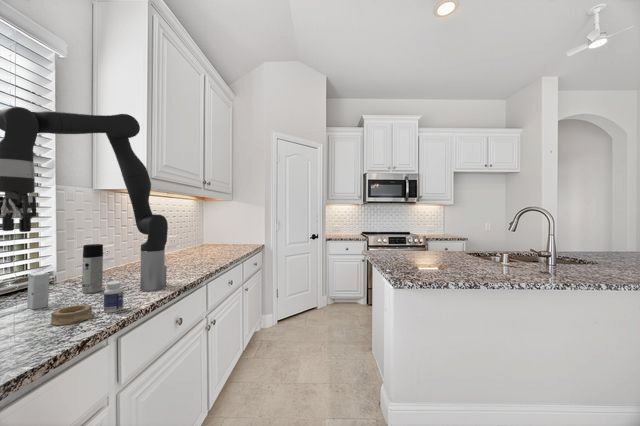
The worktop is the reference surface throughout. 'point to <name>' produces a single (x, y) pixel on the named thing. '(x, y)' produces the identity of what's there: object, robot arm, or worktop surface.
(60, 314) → the collar
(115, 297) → the pill bottle
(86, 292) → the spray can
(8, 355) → the worktop surface
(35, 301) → the skincare box
